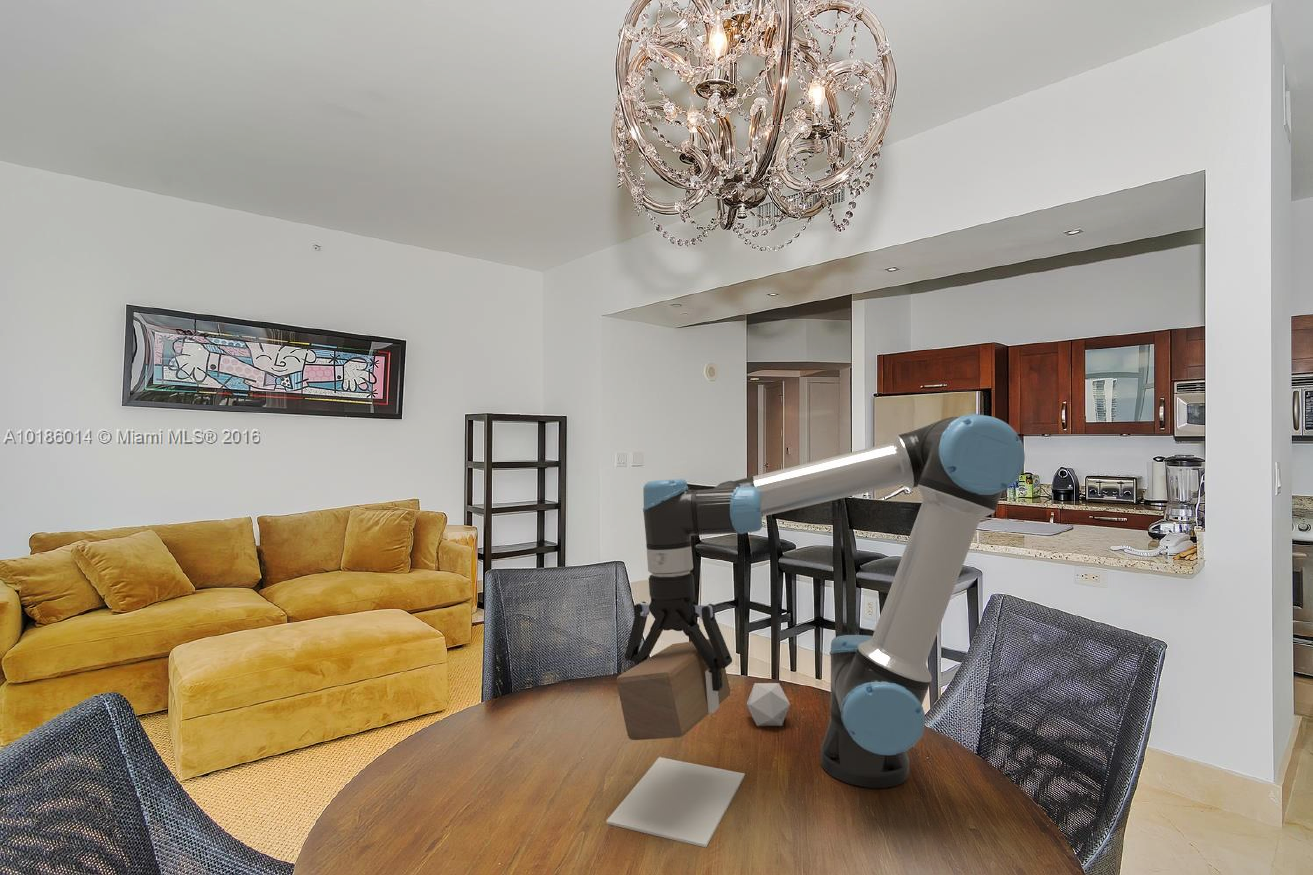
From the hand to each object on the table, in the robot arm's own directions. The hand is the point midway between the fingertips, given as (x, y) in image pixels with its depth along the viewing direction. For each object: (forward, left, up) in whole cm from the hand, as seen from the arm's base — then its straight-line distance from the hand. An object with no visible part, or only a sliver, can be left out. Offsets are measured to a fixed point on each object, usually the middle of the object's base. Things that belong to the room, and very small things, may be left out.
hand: (680, 706), depth 110 cm
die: (-7, -33, -15) cm, 37 cm away
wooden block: (+1, +11, +4) cm, 12 cm away
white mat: (0, +1, -15) cm, 15 cm away
